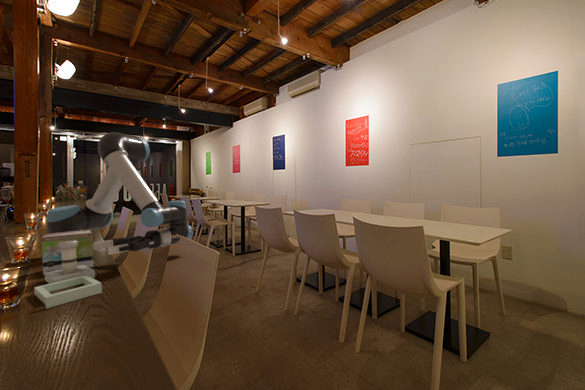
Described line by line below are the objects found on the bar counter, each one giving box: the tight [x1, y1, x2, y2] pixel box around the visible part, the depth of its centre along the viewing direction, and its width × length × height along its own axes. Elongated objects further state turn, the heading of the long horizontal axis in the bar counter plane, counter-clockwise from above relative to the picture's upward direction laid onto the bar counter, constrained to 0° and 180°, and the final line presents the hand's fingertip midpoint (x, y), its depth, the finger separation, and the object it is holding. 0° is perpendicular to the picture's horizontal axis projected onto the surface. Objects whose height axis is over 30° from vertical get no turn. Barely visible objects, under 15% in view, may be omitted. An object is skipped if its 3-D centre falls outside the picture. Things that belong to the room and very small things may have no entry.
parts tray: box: [33, 275, 103, 310], centre depth 83 cm, size 13×13×3 cm
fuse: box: [59, 240, 79, 276], centre depth 95 cm, size 5×5×13 cm
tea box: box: [41, 230, 94, 276], centre depth 108 cm, size 15×10×15 cm, turn 129°
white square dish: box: [44, 265, 96, 284], centre depth 95 cm, size 11×11×4 cm
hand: (100, 248), depth 102 cm, fingers open, 13 cm apart
